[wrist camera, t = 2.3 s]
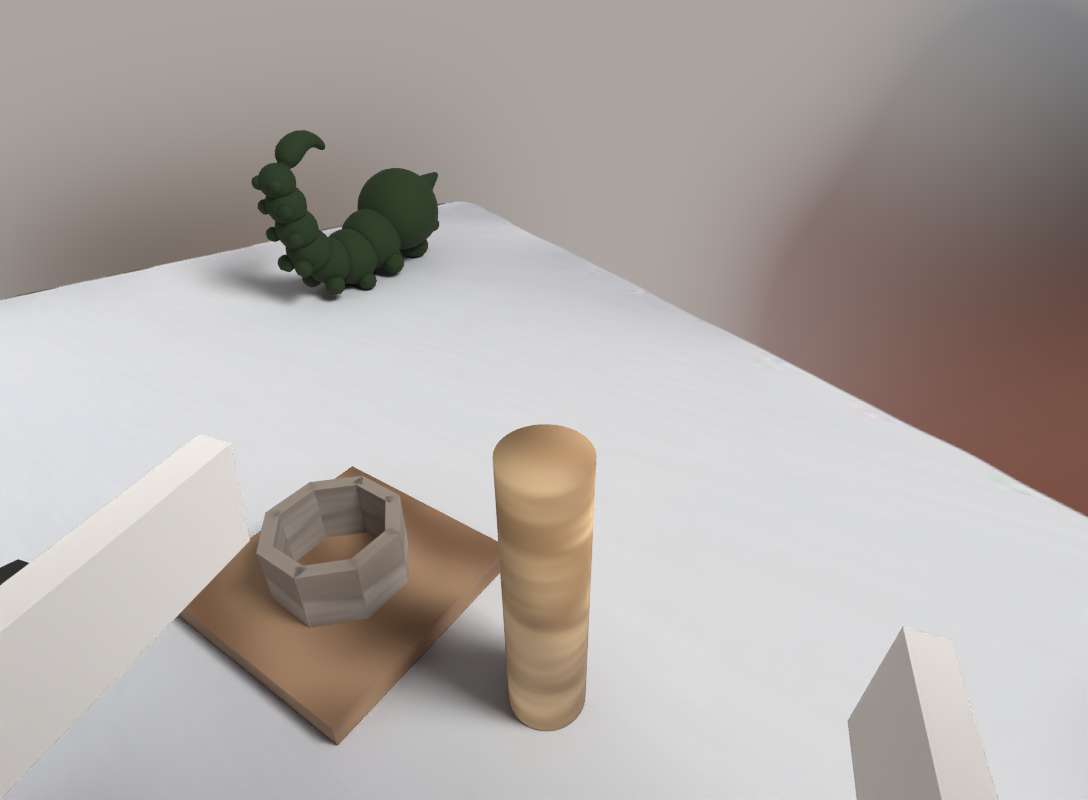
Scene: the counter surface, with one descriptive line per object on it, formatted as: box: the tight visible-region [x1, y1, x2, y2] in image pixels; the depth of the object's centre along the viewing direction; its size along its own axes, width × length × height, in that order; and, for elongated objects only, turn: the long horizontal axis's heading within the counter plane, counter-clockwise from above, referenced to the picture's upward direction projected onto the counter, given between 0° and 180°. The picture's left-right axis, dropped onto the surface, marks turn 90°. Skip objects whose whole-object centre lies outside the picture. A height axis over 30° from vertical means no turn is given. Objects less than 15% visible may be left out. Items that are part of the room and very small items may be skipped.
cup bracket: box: [179, 466, 500, 745], centre depth 39 cm, size 14×14×6 cm
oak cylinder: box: [493, 425, 596, 731], centre depth 30 cm, size 4×4×16 cm
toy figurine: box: [252, 130, 439, 294], centre depth 75 cm, size 9×19×25 cm
